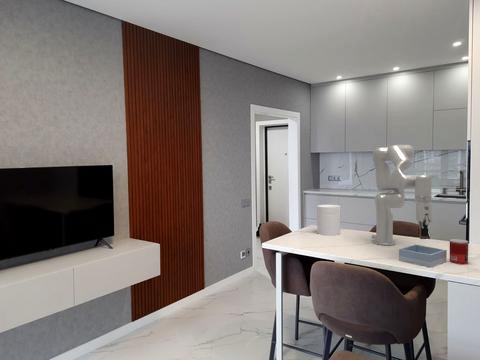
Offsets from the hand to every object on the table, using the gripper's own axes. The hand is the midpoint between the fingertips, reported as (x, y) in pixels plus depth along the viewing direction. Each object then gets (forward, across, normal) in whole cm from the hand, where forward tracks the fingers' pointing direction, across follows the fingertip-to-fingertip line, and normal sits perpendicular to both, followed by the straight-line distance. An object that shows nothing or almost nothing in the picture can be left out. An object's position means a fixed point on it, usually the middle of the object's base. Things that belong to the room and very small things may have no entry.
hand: (423, 235), depth 182 cm
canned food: (+14, +1, -17) cm, 22 cm away
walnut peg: (+2, 0, 0) cm, 2 cm away
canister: (+12, +69, +42) cm, 82 cm away
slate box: (+14, +1, 0) cm, 14 cm away
